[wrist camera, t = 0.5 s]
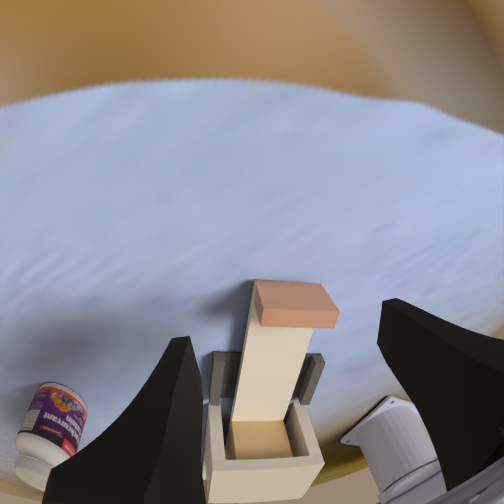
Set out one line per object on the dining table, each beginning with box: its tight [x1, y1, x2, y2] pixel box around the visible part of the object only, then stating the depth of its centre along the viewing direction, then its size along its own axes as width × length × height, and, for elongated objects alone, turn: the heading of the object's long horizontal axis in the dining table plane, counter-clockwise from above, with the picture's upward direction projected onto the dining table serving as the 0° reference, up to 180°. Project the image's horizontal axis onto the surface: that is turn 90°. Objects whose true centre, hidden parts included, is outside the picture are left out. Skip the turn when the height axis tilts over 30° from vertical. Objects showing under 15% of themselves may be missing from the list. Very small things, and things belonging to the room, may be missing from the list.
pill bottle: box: [14, 383, 87, 492], centre depth 19 cm, size 5×5×10 cm
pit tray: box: [209, 351, 325, 406], centre depth 24 cm, size 9×5×1 cm, turn 81°
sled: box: [225, 279, 340, 460], centre depth 22 cm, size 5×21×5 cm, turn 171°
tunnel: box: [205, 402, 325, 503], centre depth 24 cm, size 9×7×7 cm
